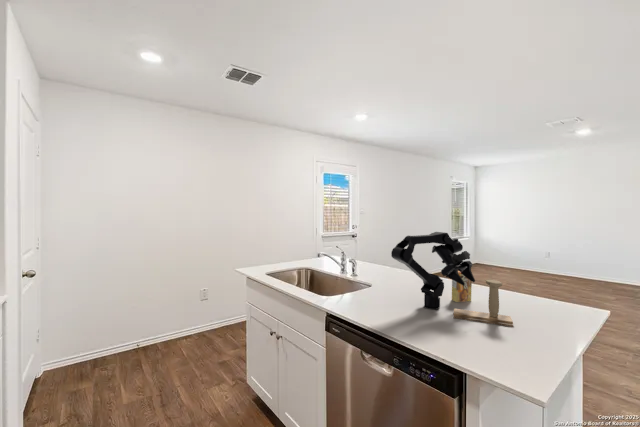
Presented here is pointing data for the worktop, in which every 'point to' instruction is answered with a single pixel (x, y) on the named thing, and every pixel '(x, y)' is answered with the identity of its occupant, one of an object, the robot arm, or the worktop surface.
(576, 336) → the worktop surface
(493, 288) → the handle
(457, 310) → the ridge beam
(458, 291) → the candy box
